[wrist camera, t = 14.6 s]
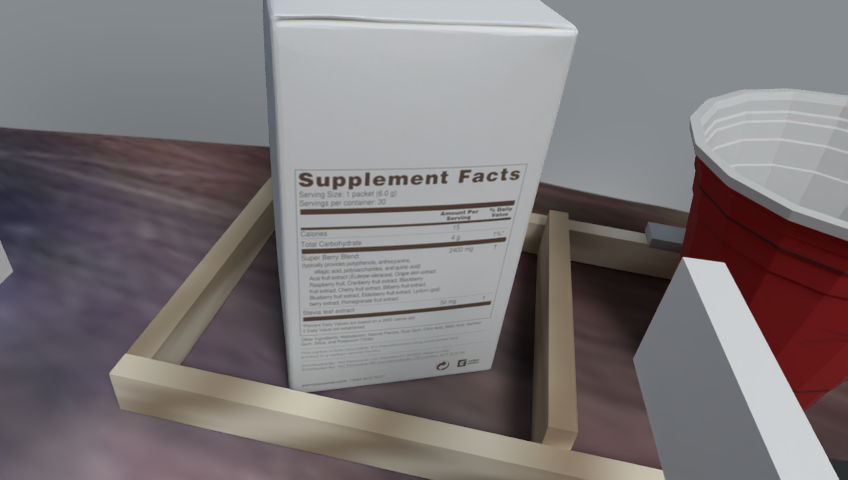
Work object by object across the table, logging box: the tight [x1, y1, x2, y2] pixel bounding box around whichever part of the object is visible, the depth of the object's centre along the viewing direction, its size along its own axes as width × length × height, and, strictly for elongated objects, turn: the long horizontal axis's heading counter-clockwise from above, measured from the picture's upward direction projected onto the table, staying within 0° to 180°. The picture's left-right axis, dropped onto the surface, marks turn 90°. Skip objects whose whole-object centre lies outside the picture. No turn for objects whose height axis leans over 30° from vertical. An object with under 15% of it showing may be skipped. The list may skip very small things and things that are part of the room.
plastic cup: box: [678, 89, 848, 412], centre depth 23 cm, size 11×11×12 cm
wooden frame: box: [109, 176, 686, 480], centre depth 26 cm, size 32×16×3 cm, turn 80°
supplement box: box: [263, 0, 578, 393], centre depth 23 cm, size 9×9×15 cm
